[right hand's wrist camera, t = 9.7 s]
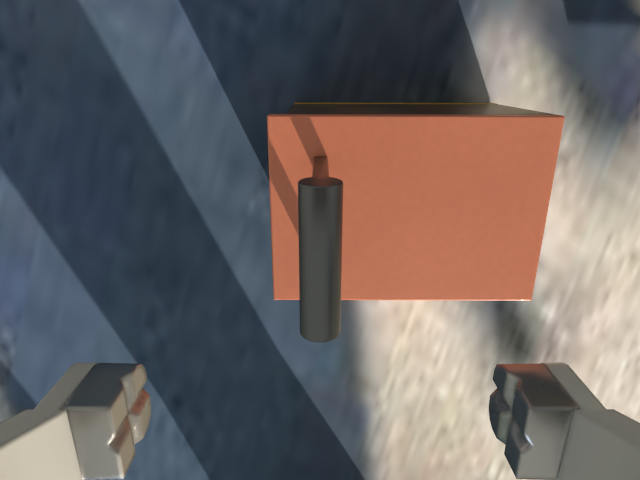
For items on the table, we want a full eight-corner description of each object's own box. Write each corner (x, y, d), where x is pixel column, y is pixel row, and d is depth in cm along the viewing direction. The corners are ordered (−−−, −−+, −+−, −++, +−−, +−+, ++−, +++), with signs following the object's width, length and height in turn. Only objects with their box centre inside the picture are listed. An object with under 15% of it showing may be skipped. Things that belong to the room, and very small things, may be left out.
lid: (275, 292, 26) (256, 380, 19) (268, 113, 23) (243, 133, 15) (524, 293, 26) (606, 381, 19) (556, 114, 23) (671, 134, 15)
